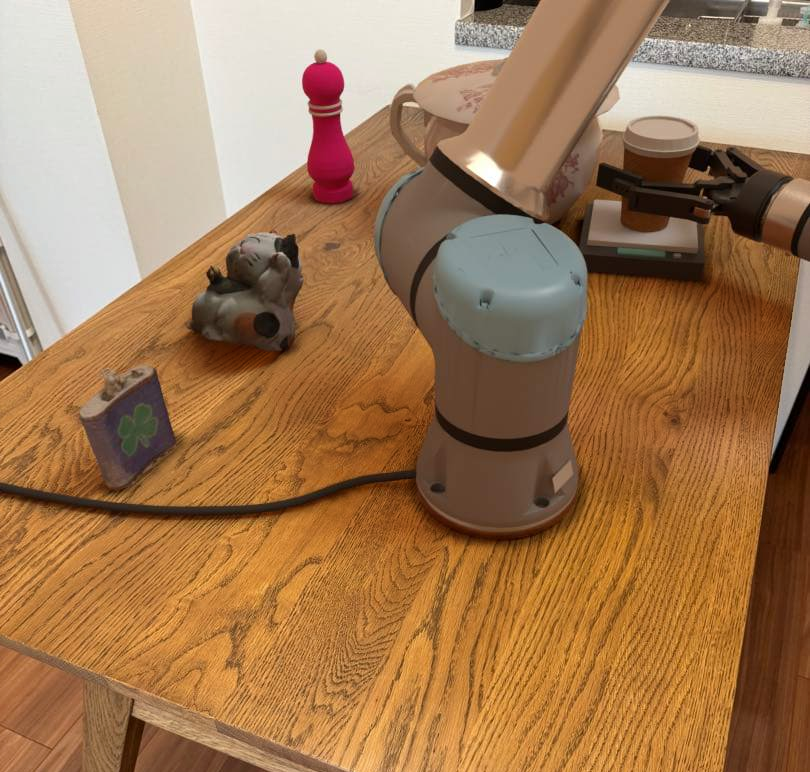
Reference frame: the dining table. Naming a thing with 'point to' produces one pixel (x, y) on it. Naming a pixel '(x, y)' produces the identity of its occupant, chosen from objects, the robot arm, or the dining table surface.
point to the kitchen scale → (640, 245)
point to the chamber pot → (455, 109)
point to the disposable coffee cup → (656, 160)
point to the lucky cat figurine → (252, 294)
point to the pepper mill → (327, 132)
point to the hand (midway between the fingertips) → (633, 160)
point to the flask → (128, 425)
